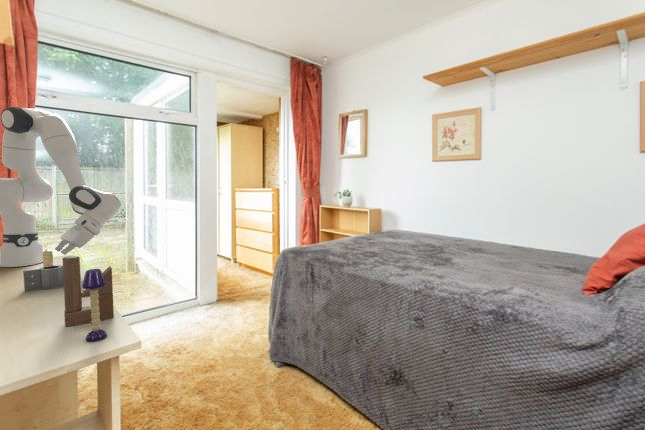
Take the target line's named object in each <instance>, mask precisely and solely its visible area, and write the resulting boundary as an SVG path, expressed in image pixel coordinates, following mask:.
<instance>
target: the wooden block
mask: <svg viewBox="0 0 645 430" xmlns="http://www.w3.org/2000/svg"><path fill="white" fill-rule="evenodd" d="M62 266H63V279H64V286H63V292H64V293H63V294H64V312H63V313H64V327H72V326H73V327H74V326H78V325H83V324H88V323H92V322H91V321H92V318H91V313H92V312H91V305H88V306H83V303H82V301H83V300H82V299H83V298H90V294H91V293H90V289H84V290H83V292H82V282H81V281H82V280H81V279H82V278H81V258H80V256H79V255H68V256H64V257H62ZM102 274H103V277H104V279H105V282H106V285H105V286H103V287H99V288H98V294H99V297H98V300H99V304H98V305H99V313H100V317H99V318H100V321H104V320H110V319H114V312H115V309H114V293H113V292H114V289H113V268H112V267H111V265H108V267H107V268H106V269H104V271H102Z"/></svg>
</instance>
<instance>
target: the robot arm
mask: <svg viewBox="0 0 645 430" xmlns="http://www.w3.org/2000/svg"><path fill="white" fill-rule="evenodd" d="M0 122H1V124H2V126H3V128H4V130H3V134H2V135H3V136H2V141H1V143H2V144H1V162H2V164H3V166H5V167H6V168H7V169H9V170H11V171H13V172H15V173H17V177H15V178H13V177H0V217H1V222H2V227H3V228H2V229H3V233H2V237H1V238H2V242H3V244H2V245H1V246H0V268H17V267H24V266H25V267H26V266H32V265H38V264H40V263H43V252H44V247H43V246H44V245H43V243H41V242H40V241H38V240H39V234H38V233H39V232H37V219H36V216H35V214H33V213H32V212H30V211H28V210H24V209H22V208H21V205H20V203H21V204H22V203H40V202H45V201H49V200H50V199H51V197H52V196H53V194H54V187H53V185H52V184H51V183H50V182H49V181H48V180H46V179H45V178H44V177H43V176H42V175H41V174H40V172H39V170H38V167H37V158H36V157H37V154H36V153H37V139H38V138H39V137H40V139H41V142H42V144H43V146H44V149H45V151H46V152H47V155H49V157H50V159H51V160H52V161H53V162H54V164H55V165H56V166H57V167H58V170H60V171H61V173H62V175H63V177H64V179H65V181H66V183H67V186H68V188H69V190H70V191H69V193H68V199H69V203H70V205H71V209H72V210H73V211H74V212H75V213H76V214H79V215H80V216H79V217H78V218H77V219H76V220H75V221H74V224H75V225H74V224H73V225H72V226H71V227H69V228H68V229H67V230H66V231H65V232H63V233H62V234H61V235H60V242H59V243H58V245H57V246H55V248H54V250H55V251H56V252H60V253H61V254H62V255H63V256H65V255H67V254H68V253H70V252H71V251H72V250H74V249H76V248H77V249H81V248H82V247H84V246H85V245H86V244H88V243H89V242H90V241H91V240H92V239H94V237H95V236H98V235H99V234H100V233H101V229H103V227H104V225H106V223H107V222H108V221H110V220H112V218H113V217H114V216H115V215H116V214H117V213H118V212H119V211H120V209H121V205H122V204H121V201H120V199H118V197H117V196H116V195H115V194H114V193H112V192H105V191H100V190H97V189H94V188H92V187H90V186H87V184H86V181H85V179H84V177H83V174H82V172H81V166H80V154H79V148H78V143H77V142H76V139H75V136H74V133H72V130H71V129H70V127H69V125H68V124H67V122H66V121H65V120H64V118H63V117H62V116H61V115H59V114H57V113H55V112H51V111H46V110H43V109H37V108H27V107H19V106H9V107H8V106H7V107H5V108H3V110H2V111H1V113H0ZM65 246H66V247H65Z"/></svg>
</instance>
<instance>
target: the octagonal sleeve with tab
mask: <svg viewBox="0 0 645 430" xmlns="http://www.w3.org/2000/svg"><path fill="white" fill-rule="evenodd" d="M22 272H23V273H22V274H23V287H24V288H23V289H24V290H23V291H24V292H29V291H35V290H36V291H37V290H40V289H42V290H52V289H53V290H54V289H58V288H61V287H64V279H63V265H57V264H56V265H55V264H53V266H46V267H43V266H42V267H40V268H36V269H29V270H23V271H22Z"/></svg>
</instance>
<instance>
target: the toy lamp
mask: <svg viewBox="0 0 645 430" xmlns="http://www.w3.org/2000/svg"><path fill="white" fill-rule="evenodd" d="M102 273H103V271H102V270H101V269H100V268H91V269H87V270H86V271H85V273H84V277H83V281H82V283H81V289H84V290H85V289H90V293H91V294H90V297H89V298H90V301H89V303H90V306H91V312H92V313H91V318H92V321H91V322H90V323H91V324H92V325H91V331H89V332H88V333H87V335H86V336H85V341H86V342H88V343H89V342H90V343H92V342H93V343H94V342H98V341H101V340H104V339H105V338H107V336H108V334H107V332H106V331H105V330H104V329H101V328H102V327H101V324H100V323H101V320H100V318H99V317H100V313H99V305H98V304H99V300H98V297H99V294H98V288H99V287H103V286H105V285H106V282H105V279H104V277H103V274H102Z"/></svg>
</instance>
